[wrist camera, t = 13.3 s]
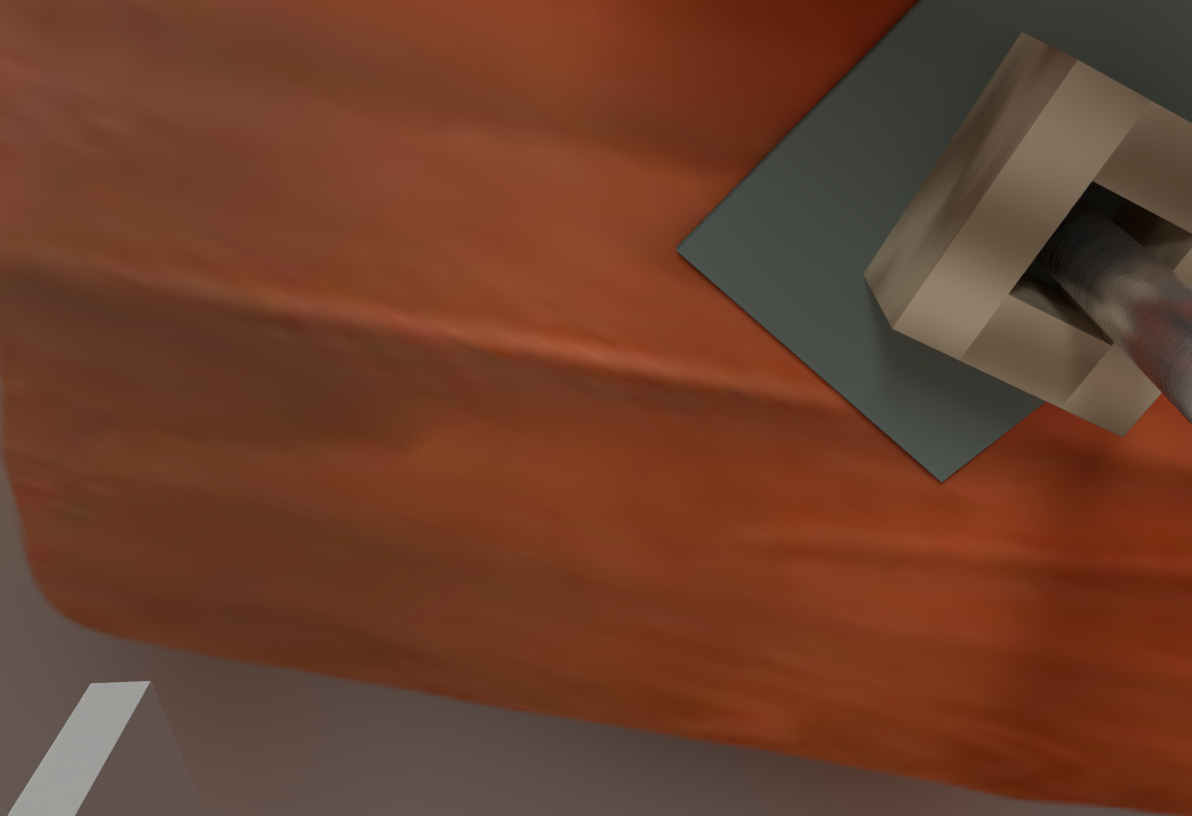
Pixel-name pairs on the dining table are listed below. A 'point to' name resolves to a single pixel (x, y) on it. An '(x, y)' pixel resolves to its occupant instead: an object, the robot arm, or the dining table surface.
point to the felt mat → (885, 189)
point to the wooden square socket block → (1037, 230)
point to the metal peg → (1127, 297)
